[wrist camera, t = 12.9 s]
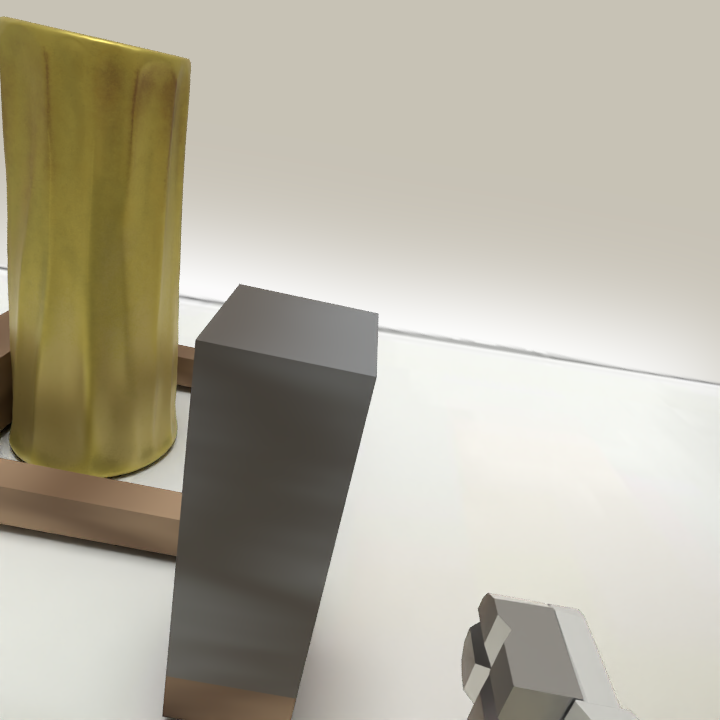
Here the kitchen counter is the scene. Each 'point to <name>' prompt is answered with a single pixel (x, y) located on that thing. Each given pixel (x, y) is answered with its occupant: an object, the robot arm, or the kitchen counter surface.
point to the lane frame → (233, 496)
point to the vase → (92, 246)
